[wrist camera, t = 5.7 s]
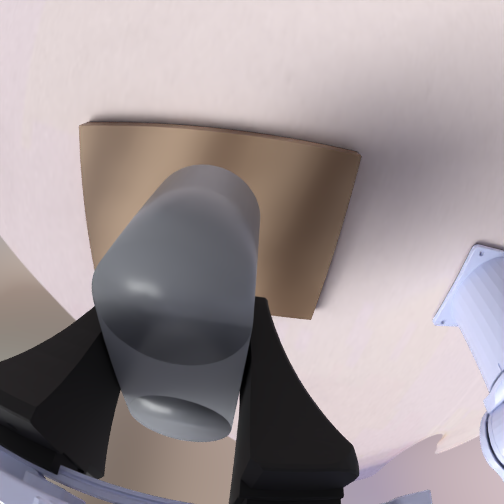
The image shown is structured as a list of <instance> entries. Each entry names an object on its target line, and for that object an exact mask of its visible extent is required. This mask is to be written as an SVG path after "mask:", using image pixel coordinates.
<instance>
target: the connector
mask: <svg viewBox="0 0 504 504" xmlns="http://www.w3.org/2000/svg"><path fill="white" fill-rule="evenodd" d="M259 231H260V209H259V205H258V202H257V199H256V197H255V195H254V193H253V192H252V190H251V189H250V187H249V186H248V185H247V184H246V183H245V182H244V181H243V180H242V179H241V178H240V177H238V176H237V175H235V174H234V173H232V172H230V171H228V170H226V169H224V168H221V167H217V166H212V165H192V166H188V167H185V168H182V169H179V170H178V171H176V172H174V173H173V174H171V175H170V176H168V177H167V178H166V179H165V180H164V181H163V183H162V184H161V185H160V186H159V187H158V188H157V190H156V191H155V192H154V193H153V194H152V196H151V197H150V198H149V199H148V200H147V201H146V203H145V204H144V205H143V206H142V208H141V209H140V210H139V211H138V213H137V214H136V215H135V216H134V217H133V219H132V220H131V221H130V223H129V224H128V225H127V226H126V228H125V229H124V230H123V231H122V233H121V234H120V235H119V237H118V238H117V239H116V241H115V242H114V243H113V245H112V246H111V247H110V249H109V250H108V251H107V253H106V254H105V255H104V257H103V258H102V259H101V261H100V262H99V264H98V266H97V267H96V269H95V272H94V275H93V279H92V295H93V300H94V304H95V308H96V312H97V316H98V319H99V323H100V327H101V330H102V334H103V337H104V340H105V344H106V347H107V350H108V353H109V356H110V359H111V362H112V365H113V368H114V371H115V374H116V377H117V380H118V383H119V385H120V388H121V391H122V393H123V396H124V398H125V401H126V404H127V406H128V409H129V411H130V413H131V415H132V416H133V417H134V418H135V419H136V420H137V421H138V422H139V423H141V424H142V425H144V426H145V427H147V428H149V429H151V430H153V431H155V432H157V433H159V434H162V435H165V436H168V437H171V438H175V439H179V440H185V441H193V442H210V441H216V440H219V439H222V438H224V437H226V436H228V435H229V433H230V432H231V429H232V424H233V419H234V415H235V410H236V405H237V400H238V396H239V391H240V386H241V381H242V377H243V372H244V367H245V362H246V357H247V352H248V347H249V342H250V338H251V333H252V328H253V318H254V304H255V289H256V275H257V261H258V246H259Z"/></svg>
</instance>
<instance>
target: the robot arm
mask: <svg viewBox="0 0 504 504" xmlns="http://www.w3.org/2000/svg"><path fill="white" fill-rule="evenodd" d="M480 252H481V253H480ZM433 323H434V325H438V326H459V328H460V330H461V332H462V334H463V336H464V338H465V340H466V342H467V344H468V346H469V348H470V350H471V352H472V354H473V357H474V359H475V361H476V363H477V365H478V367H479V370H480V372H481V374H482V377H483V379H484V381H485V384H486V386H487V388H488V391H489V393H490V394H489V395H488V396H487V397H486V398H485V399H484V401H483V402H484V404H485V407H486V410H487V411H486V413H485V414H484V415H483V417H482V420H481V424H480V444H481V449H482V452H483V455H484V457H485V459H486V461H487V463H488V464H489V465H490V467H491V468H493V470H495V471H496V472H497V473H498V474H499V475H500V477H501V478H502V480H503V481H504V251H503V250H499V249H495V248H491V247H487V246H483V245H479V244H476V245H474V246H473V247H472V249H471V251H470V253H469V255H468V257H467V259H466V261H465V263H464V265H463V267H462V269H461V271H460V273H459V275H458V277H457V278H456V280H455V282H454V284H453V286H452V288H451V289H450V291H449V293H448V295H447V297H446V298H445V300H444V302H443V303H442V305H441V307H440V309H439V310H438V312H437V314H436V315H435V317H434V318H433ZM120 390H121V388H120V385H119V383H118V380H117V377H116V374H115V371H114V368H113V365H112V362H111V359H110V356H109V353H108V350H107V347H106V344H105V340H104V337H103V334H102V330H101V327H100V323H99V319H98V316H97V312H96V308H95V306H94V307H93V308H92V309H91V310H89V311H88V312H87V313H86V314H84V315H83V316H82V317H80V318H79V319H78V320H77V321H75V322H74V323H73V324H71V325H70V326H68V327H67V328H66V329H64V330H63V331H61V332H60V333H58V334H56V335H55V336H53V337H52V338H50V339H48V340H46V341H44V342H43V343H41V344H39V345H37V346H35V347H34V348H32V349H30V350H28V351H26V352H23V353H21V354H19V355H16V356H14V357H12V358H9V359H7V360H4V361H1V362H0V503H1V504H86V503H85V501H84V500H82V499H80V498H78V497H76V496H74V495H72V494H70V493H69V492H67V491H66V490H65V489H63V488H61V487H59V486H57V485H55V484H53V483H51V482H49V481H47V480H46V479H45V477H44V476H46V477H48V478H50V479H52V480H54V481H56V482H59V483H61V484H63V485H65V486H68V487H70V488H72V489H75V490H77V491H80V492H82V493H85V494H88V495H90V496H93V497H96V498H98V499H101V500H104V501H107V502H110V503H113V504H192V503H187V502H181V501H176V500H171V499H166V498H161V497H157V496H153V495H149V494H145V493H141V492H137V491H133V490H130V489H126V488H123V487H120V486H116V485H113V484H110V483H107V482H104V481H101V480H98V479H99V478H102V477H103V476H104V471H105V461H106V454H107V447H108V442H109V436H110V431H111V426H112V421H113V417H114V412H115V408H116V404H117V401H118V397H119V393H120ZM43 475H44V476H43ZM358 476H359V465H358V461H357V457H356V453H355V450H354V447H353V445H352V444H351V443H350V442H349V441H348V440H347V439H346V438H345V437H344V436H343V435H342V434H341V433H340V432H339V431H338V430H337V429H336V428H335V427H334V426H333V425H332V423H331V422H330V421H329V420H328V419H327V418H326V416H325V415H324V414H323V413H322V411H321V410H320V409H319V407H318V406H317V405H316V403H315V402H314V401H313V399H312V398H311V397H310V395H309V394H308V392H307V391H306V389H305V388H304V386H303V384H302V383H301V381H300V380H299V378H298V376H297V374H296V373H295V371H294V369H293V367H292V365H291V363H290V361H289V359H288V357H287V355H286V353H285V351H284V349H283V346H282V344H281V342H280V339H279V337H278V334H277V332H276V329H275V326H274V323H273V320H272V317H271V313H270V310H269V305H268V300H267V299H266V298H265V297H257V296H255V304H254V318H253V328H252V333H251V338H250V342H249V347H248V352H247V357H246V362H245V367H244V372H243V377H242V381H241V386H240V407H239V421H238V430H237V439H236V448H235V458H234V466H233V474H232V482H231V490H230V498H229V504H341V498H343V497H344V492H343V487H345V486H346V485H348V484H349V483H351V482H353V481H354V480H355V479H356V478H357V477H358ZM381 504H432V498H431V492H430V490H425V491H421V492H417V493H412V494H408V495H404V496H400V497H397V498H394V499H392V500H390V501H389V502H387V503H381Z"/></svg>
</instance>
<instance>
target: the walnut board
mask: <svg viewBox="0 0 504 504" xmlns="http://www.w3.org/2000/svg"><path fill="white" fill-rule="evenodd" d="M79 141H80V161H81V175H82V186H83V196H84V205H85V213H86V221H87V228H88V235H89V241H90V248H91V253H92V259H93V264H94V270H95V269H96V267H97V266H98V264H99V262H100V261H101V259H102V258H103V257H104V255H105V254H106V253H107V251H108V250H109V249H110V247H111V246H112V245H113V243H114V242H115V241H116V239H117V238H118V237H119V235H120V234H121V233H122V231H123V230H124V229H125V228H126V226H127V225H128V224H129V223H130V221H131V220H132V219H133V217H134V216H135V215H136V214H137V213H138V211H139V210H140V209H141V208H142V206H143V205H144V204H145V203H146V201H147V200H148V199H149V198H150V197H151V196H152V194H153V193H154V192H155V191H156V190H157V188H158V187H159V186H160V185H161V184H162V183H163V181H164V180H165V179H166V178H167V177H168V176H170V175H171V174H173V173H174V172H176V171H178V170H179V169H182V168H185V167H188V166H192V165H212V166H217V167H221V168H224V169H226V170H228V171H230V172H232V173H234V174H235V175H237V176H238V177H240V178H241V179H242V180H243V181H244V182H245V183H246V184H247V185H248V186H249V187H250V189H251V190H252V192H253V193H254V195H255V197H256V199H257V202H258V205H259V209H260V231H259V246H258V261H257V275H256V289H255V296H257V297H265V298H266V299H267V300H268V305H269V310H270V313H271V315H273V316H281V317H290V318H298V319H308V320H311V318H312V316H313V313H314V310H315V307H316V304H317V302H318V299H319V296H320V293H321V290H322V287H323V284H324V281H325V278H326V275H327V272H328V269H329V266H330V263H331V260H332V257H333V254H334V251H335V248H336V244H337V241H338V238H339V235H340V231H341V228H342V225H343V221H344V218H345V215H346V211H347V208H348V204H349V201H350V197H351V194H352V190H353V186H354V183H355V179H356V175H357V172H358V168H359V164H360V160H361V155H360V154H359V153H358V152H356V151H352V150H347V149H343V148H338V147H334V146H329V145H324V144H319V143H314V142H309V141H303V140H298V139H292V138H286V137H280V136H274V135H267V134H260V133H253V132H246V131H238V130H230V129H221V128H211V127H201V126H189V125H175V124H158V123H133V122H87V123H84V124H82V125H80V126H79Z"/></svg>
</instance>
